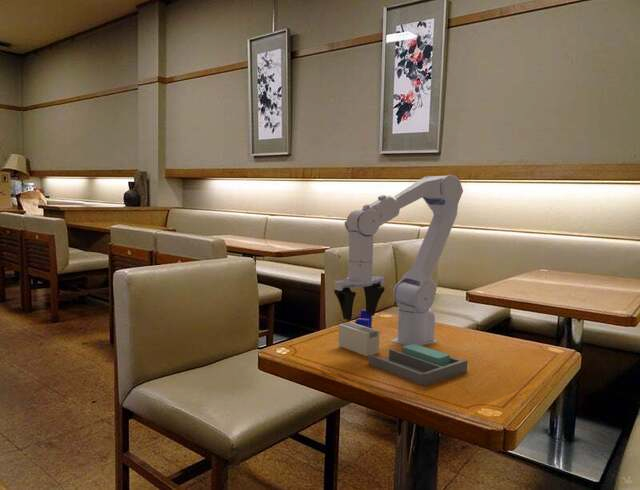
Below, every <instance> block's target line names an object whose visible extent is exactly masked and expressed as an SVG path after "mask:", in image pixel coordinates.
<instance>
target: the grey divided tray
mask: <svg viewBox="0 0 640 490" xmlns="http://www.w3.org/2000/svg"><path fill="white" fill-rule="evenodd" d="M409 345H411V344H409ZM367 357H368V360H367V362H368V365H370V366H373V367H374V368H375V367H376V368H377V369H380V370H383V371H386V372H388V373H391V374H393V375H396V376H398V377H401V378H404V379H406V380H409V381H411V382H413V383H416V384H418V385H420V386H424V387H427V386H430V385H432V384H433V385H434V384H435V383H439V382H441V381H444V380H448V379H450V378H453V377H456V376H458V375H462V374H465V373H467V372H468V360H467V359H458V358H455V357H453V356H450V364H449V365H446V366H443V367H442V366H439V365H436V364H433V363H430V362H428V361H425V360H422V359H419V358H416V357H413V356H410V355H407V354H404V353H402V351H401V352H400V351H399V350H395V349H393V348H389V350H388V358H382V357H378V356H376V355H375V354H373V355H371V354H370V355H369V356H367Z"/></svg>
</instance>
